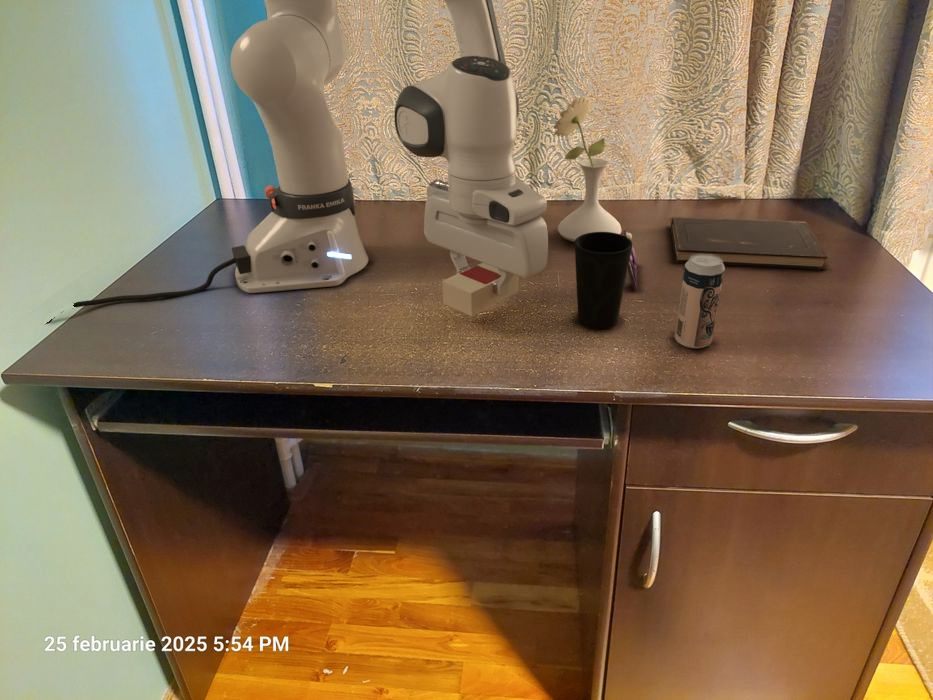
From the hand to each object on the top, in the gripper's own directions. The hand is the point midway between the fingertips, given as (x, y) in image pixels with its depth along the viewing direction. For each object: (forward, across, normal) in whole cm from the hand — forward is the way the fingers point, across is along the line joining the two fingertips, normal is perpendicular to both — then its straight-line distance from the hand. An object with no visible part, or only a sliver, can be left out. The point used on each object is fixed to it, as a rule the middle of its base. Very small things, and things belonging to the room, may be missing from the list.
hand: (482, 286), depth 95 cm
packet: (+2, 0, 0) cm, 2 cm away
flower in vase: (+5, -6, +34) cm, 35 cm away
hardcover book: (+4, +18, +48) cm, 51 cm away
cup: (+5, +13, +10) cm, 17 cm away
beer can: (+5, +26, +13) cm, 30 cm away
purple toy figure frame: (+5, +8, +24) cm, 26 cm away
